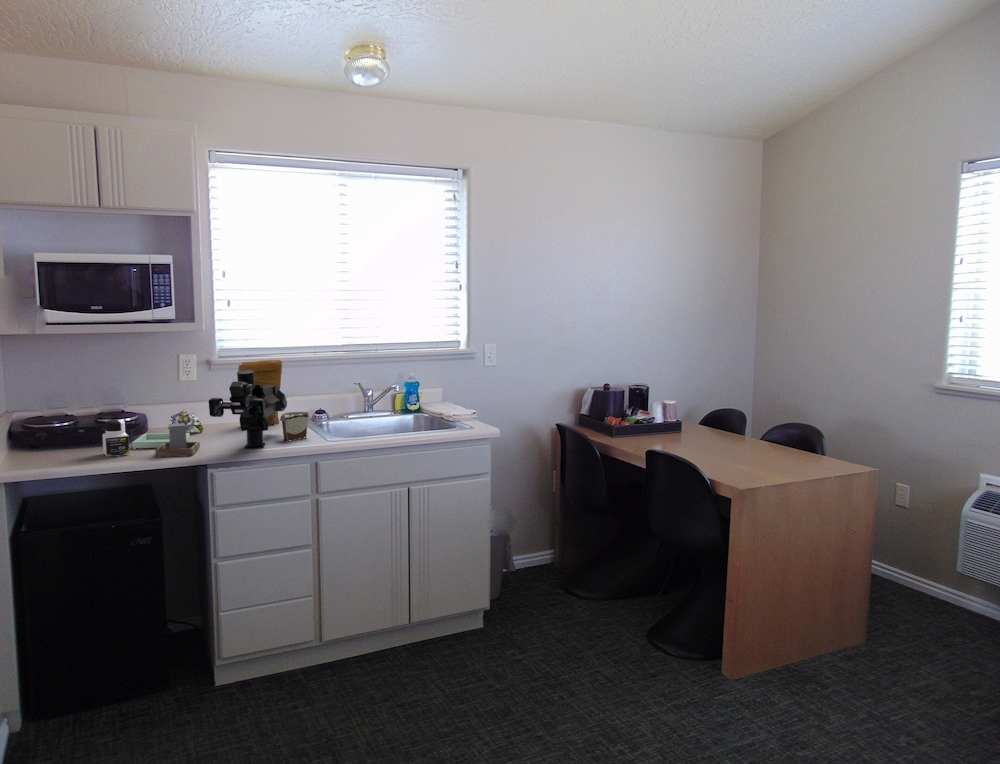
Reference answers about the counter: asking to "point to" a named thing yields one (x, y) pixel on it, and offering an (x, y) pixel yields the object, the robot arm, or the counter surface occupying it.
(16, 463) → the counter surface
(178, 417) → the passion flower
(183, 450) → the walnut collar
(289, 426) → the food container
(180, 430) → the grey peg
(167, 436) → the mint green tray
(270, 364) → the pancake mix bag
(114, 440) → the medicine bottle
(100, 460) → the counter surface
